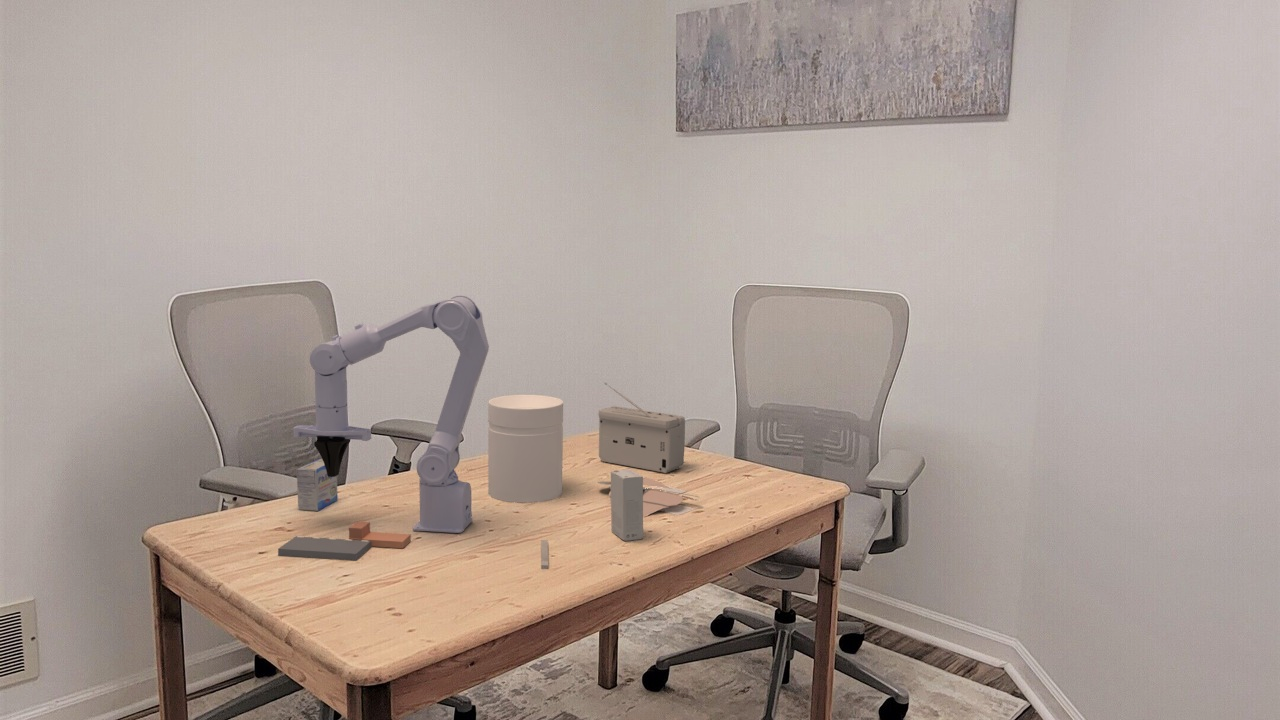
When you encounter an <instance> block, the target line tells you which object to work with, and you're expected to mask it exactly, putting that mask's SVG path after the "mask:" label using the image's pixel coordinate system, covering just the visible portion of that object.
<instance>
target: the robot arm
mask: <svg viewBox="0 0 1280 720" xmlns="http://www.w3.org/2000/svg"><path fill="white" fill-rule="evenodd" d="M483 321H484V320H483V313H482V311H481V310H480V308H479V307H478V305H477V304H476V302H475V301H473V299H471V298H470V297H468V296H465V295H454V296H453V297H451V298H450V299H443V300H440V301H436V302H432V303H428V304H425V305H422V306H420V307H417V308H416V309H413V310H411V311H409V312H407V313H404V314H403V315H401V316H398V317H397V318H394V319H393V320H391V321H388V322H386V323H384V324H382V325H380V326H377V325H374V324H372V323H367V324H365V325H364V323H363V322H361V323H360V324H357V325H354V329H353V330H351V331H348V332H347V333H344V334H342V335H339V334H336V335H333V336H332V337H331V339H332V340H331V341H330V340H329V341H327V342H322V343H319V344H318V345H317V346H316V347H314V348H313V349H312V350H311V352H310V354H309V363H310V365H311V367H312V369H313V370H314V395H315V399H314V400H315V401H314V402H315V424H314V425H307V424H306V425H305V424H304V425H302V424H301V425H300V424H299V425H296V426H294V427H292V428H293V429H292V430H293V431H292V432H293V435H292V436H293V438H316V440H315V441H314V443H313V444H314V448H315V449H316V450H317V452H318V453H319V455H320V457H321V459H323V462H324V465H325V468H326V471H327V475H328V477H335V476H337V477H338V475H340V470H341V466H342V465H341V464H342V462H343V461H342V460H343V458H344V456H345V452H346V450H347V448H348V446H349V444H350V442H351V440H358V441H363V442H369V441H370V440H372V429H371V428H364V427H357V426H351V425H349V418H348V417H349V416H348V415H349V414H348V413H349V412H348V411H349V410H348V409H349V407H348V380H347V367H348V366H349V365H350V366H353V365H354V364H357V363H359V362H361V361H363V360H365V359H368V358H371V357H372V356H375V355H377V354H379V353H381V352H383V350H384V348H385V345H386V343H387V342H389V341H391V340H393V339H396V338H398V337H400V336H404V335H405V334H407V333H410V332H412V331H415V330H417V329H421V328H426V329H430V330H435V329H437V328H438V329H439V331H441V332H443V333H444V334H445V335H446V336H447V337H449V338H450V339H451V340H452V342H453V343H454V345H455V346H456V348H457V351H458V352H459V356H458V359H457V363H456V364H455V365H456V366H455V368H454V372H453V375H452V378H451V380H450V384H449V388H448V390H447V394H446V396H445V399H444V403H443V405H442V408H441V412H440V415H439V417H438V421H437V424H436V427H435V430H434V432H433V434H432V437H431V438H430V441H429V443H428V446H427V448H426V450H425V452H424V453H423V454H422V455H421V456H419V458H418V460H417V463H416V472H417V473H416V474H417V475H418V477H419V481H418V482H419V521H418V522H417V523H416V524H415V525H413V527H412V531H420V532H421V531H422V532H435V533H436V532H437V533H452V534H461V533H463V531H464V530H465V529H466V528H467V527H468V526H469V525H470V524H471V523H472V521H473V517H472V487H471V483H470V482H467V481H462V480H459V476H458V474H457V472H456V470H455V469H456V468H457V467H458V465H459V463H460V457H461V455H460V451H459V449H460V444H461V441H462V438H461V437H462V436H461V435H462V432H463V429H464V426H465V422H466V419H467V417H468V415H469V410H470V408H471V405H472V402H473V399H474V397H475V396H474V395H475V393H476V389H477V386H478V383H479V380H480V377H481V375H482V372H483V368H484V365H485V362H486V360H487V356H488V353H489V347H490V346H489V342H488V338H487V333H486V330H485V326H484V325H485V324H484V322H483Z"/></svg>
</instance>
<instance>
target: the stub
mask: <svg viewBox="0 0 1280 720" xmlns="http://www.w3.org/2000/svg"><path fill="white" fill-rule="evenodd" d="M348 539H351V540H366V541H371V547H375V548H376V547H377V548H390V549H391V548H392V549H393V548H394V549H404V548H405V547H406V546H407V545H408V544H409V543H410V542H411V540H412V534H410V533H395V532H377V531H371V523H370V522H369V521H356V522H355V523H353V524H352V525H351V526H349V527H348Z"/></svg>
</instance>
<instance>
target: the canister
mask: <svg viewBox="0 0 1280 720" xmlns="http://www.w3.org/2000/svg"><path fill="white" fill-rule="evenodd" d="M487 411H488V412H487V413H488V421H487V422H488V430H487V431H488V435H487V436H488V441H487V442H488V443H487V444H488V445H487V446H488V447H487V448H488V450H487V451H488V452H487V453H488V454H487V455H488V457H487V458H488V461H487V463H488V465H487V466H488V468H487V471H488V473H487V474H488V477H487V478H488V479H487V480H488V482H487V483H488V486H487V487H488V491H487V493H488V494H487V495H489V496H490V498H492V499H495V500H496V501H497V500H498V501H501V502H507V503H514V502H515V503H516V504H532V503H533V502H534V503H541V502H542V503H543V502H547V501H551V500H554V499H556V498H559V497H560V496H561V495H562V494H563V460H564V459H563V451H564V449H563V448H564V445H563V444H564V443H563V442H564V426H563V423H564V400H563V399H561V398H559V397H555V396H550V395H542V394H541V395H540V394H509V395H500V396H497V397H493V398H491V399H489V400H488V408H487ZM534 503H533V504H534Z"/></svg>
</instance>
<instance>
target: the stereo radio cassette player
mask: <svg viewBox="0 0 1280 720" xmlns="http://www.w3.org/2000/svg"><path fill="white" fill-rule="evenodd" d="M604 385H606V386H607V387H609V388H610V389H612V390H613V391H614V392H615V393H617V394H618V395H619V396H621V397H622V398H623V399H624V400H626V401H627V402H628V403H630V404H631V406H632V405H633V406H634V407H635V408H630V407H629V408H628V407H622V406H616V405H613V406H609V407H604V408H602V409H598V414H597V415H598V418H599V419H598V420H599V423H598V425H599V427H598V458H600V461H601V462H603V461H604V462H603V463H609V464H616V465H621V466H627V467H631V468H637V469H643V470H648V471H653V472H659V473H662V474H664V473H666V474H667V473H669V472H673V471H675V469H677V470H678V469H680V467H682V466H684V461H685V460H684V459H685V445H686V444H685V443H686V442H685V439H686V420H685V419H686V418H685V417H684V416H682V415H677V414H670V413H662V412H655V411H649V410H644V409H642V407H640V406H638V405H637V404H635V403H634V402H633V401H632V400H630V399H629V398H628V397H626V396H625V395H623V394H622V393H621V392H619V391H617V390H616V389H615V388H613V387H611V386H610V385H609V384H608V383H607V382H604ZM636 408H637V409H636Z"/></svg>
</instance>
